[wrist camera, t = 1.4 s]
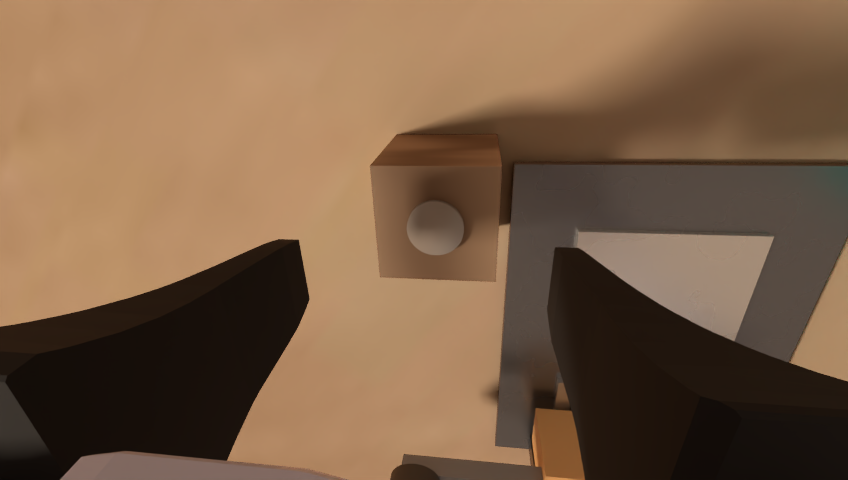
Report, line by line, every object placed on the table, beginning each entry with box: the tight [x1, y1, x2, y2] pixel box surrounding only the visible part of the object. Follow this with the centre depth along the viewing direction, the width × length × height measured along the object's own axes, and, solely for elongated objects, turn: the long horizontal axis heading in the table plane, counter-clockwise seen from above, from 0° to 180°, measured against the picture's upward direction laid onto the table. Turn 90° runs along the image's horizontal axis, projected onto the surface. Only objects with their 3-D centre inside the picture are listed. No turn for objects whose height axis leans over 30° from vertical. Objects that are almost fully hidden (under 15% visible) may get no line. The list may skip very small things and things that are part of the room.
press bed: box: [495, 162, 848, 466], centre depth 20 cm, size 14×18×3 cm
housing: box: [370, 134, 502, 282], centre depth 17 cm, size 4×4×5 cm
